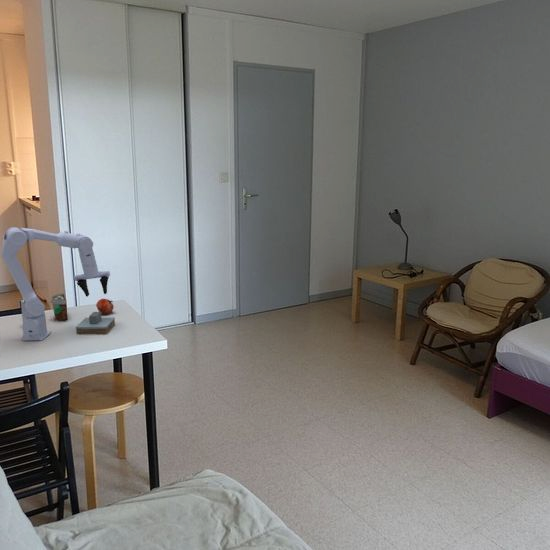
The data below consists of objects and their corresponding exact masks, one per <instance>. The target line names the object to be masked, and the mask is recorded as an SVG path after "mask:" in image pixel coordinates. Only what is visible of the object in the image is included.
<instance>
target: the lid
mask: <svg viewBox="0 0 550 550" xmlns="http://www.w3.org/2000/svg"><path fill="white" fill-rule="evenodd" d="M115 319H116V317H115V316H114V317H109V316H108V317H106V316H105V317H102V313H101V312H99V311H93V312H92V313H91V314H90V315H88V317H84V318H83V319H82V320H81V321H80V322H79V323H78V324H77V325H76V326H75V329H106V328H107V327H108V326H109V325H110V324H111V323H112V322H113V321H114V320H115Z"/></svg>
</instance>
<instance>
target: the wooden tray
mask: <svg viewBox="0 0 550 550" xmlns="http://www.w3.org/2000/svg"><path fill="white" fill-rule="evenodd" d="M115 325H116V322H115V320H114V321H113V322H112V323H111V324H110V325H109V326H108V327H107V328H106V329H76V328H75V329H76V330H75V331H76V335H107V334H108V333H109V332H110V331H111V330H112V328H113V327H114V326H115Z"/></svg>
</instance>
